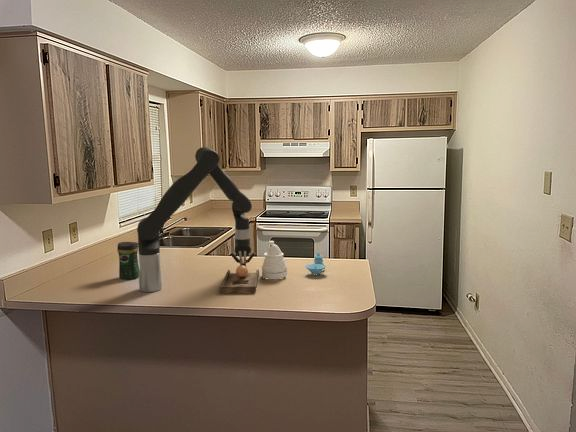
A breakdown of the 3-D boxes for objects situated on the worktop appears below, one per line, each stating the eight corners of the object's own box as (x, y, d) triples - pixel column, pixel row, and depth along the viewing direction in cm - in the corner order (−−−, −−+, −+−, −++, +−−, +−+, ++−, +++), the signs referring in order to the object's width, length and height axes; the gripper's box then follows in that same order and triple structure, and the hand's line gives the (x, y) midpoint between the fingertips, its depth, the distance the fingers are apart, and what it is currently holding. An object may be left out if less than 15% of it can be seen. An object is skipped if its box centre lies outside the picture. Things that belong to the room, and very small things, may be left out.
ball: (235, 279, 214) (235, 267, 213) (236, 275, 220) (236, 263, 219) (247, 278, 214) (247, 266, 213) (248, 275, 220) (248, 263, 219)
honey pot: (256, 276, 223) (256, 242, 220) (274, 271, 232) (274, 238, 230) (274, 281, 214) (274, 245, 212) (292, 276, 224) (292, 241, 221)
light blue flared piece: (324, 278, 220) (324, 260, 218) (303, 277, 222) (303, 259, 221) (329, 268, 237) (329, 252, 236) (310, 267, 239) (310, 251, 238)
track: (220, 293, 197) (220, 286, 197) (228, 275, 225) (227, 270, 225) (255, 292, 198) (255, 286, 197) (259, 275, 225) (259, 269, 225)
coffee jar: (142, 275, 227) (140, 240, 224) (134, 280, 219) (131, 243, 216) (125, 274, 229) (123, 240, 226) (116, 279, 221) (114, 243, 218)
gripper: (228, 239, 220) (229, 272, 222) (255, 238, 220) (255, 272, 222) (230, 236, 227) (231, 268, 230) (255, 235, 227) (256, 268, 230)
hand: (243, 270), depth 226 cm, fingers closed
